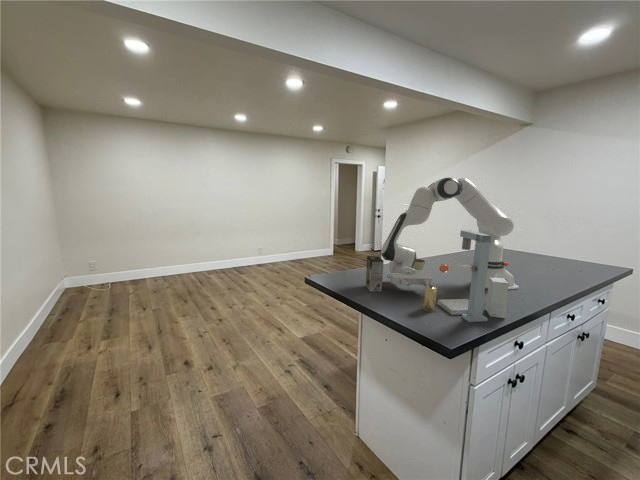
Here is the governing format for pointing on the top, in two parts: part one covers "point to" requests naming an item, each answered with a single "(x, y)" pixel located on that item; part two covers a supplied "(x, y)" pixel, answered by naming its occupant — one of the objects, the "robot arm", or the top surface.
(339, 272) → the top surface
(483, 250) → the frame
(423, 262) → the flower pot
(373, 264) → the coffee box
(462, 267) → the lever
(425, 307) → the cylinder
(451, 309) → the press bed
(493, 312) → the skincare box
